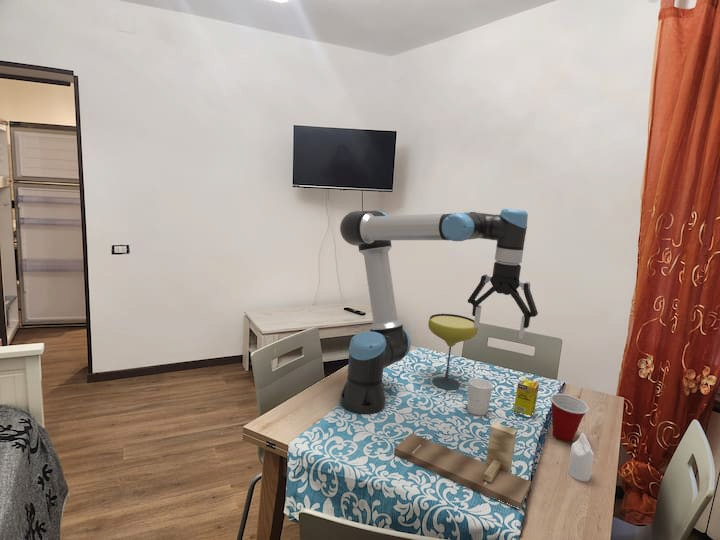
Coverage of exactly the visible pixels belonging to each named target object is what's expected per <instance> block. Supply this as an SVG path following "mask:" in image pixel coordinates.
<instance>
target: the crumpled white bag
mask: <svg viewBox="0 0 720 540" xmlns="http://www.w3.org/2000/svg"><path fill="white" fill-rule="evenodd" d="M569 454H570V455H569V459H568V471H567V472H568V473H567V474H568V475H569V476H570V477H572V478H573V479H575V480H577V481H580V482H584V483H585V482H586V483H587V482H589V481H590V480H591V475H592V474H591V473H592V470H593V469H592V468H593V463H594V455H595V453H594V452H593V450H592V447H591V444H590V442H589V440H588V438H587V436H586V434H585V433H584V432H582V433H581V434H580V435H579V438H577V440H576V441H575V442H573V443H572V444H571V449H570V453H569Z"/></svg>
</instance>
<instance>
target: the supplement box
mask: <svg viewBox="0 0 720 540" xmlns="http://www.w3.org/2000/svg"><path fill="white" fill-rule="evenodd" d="M539 386H540V382H538V381H535V380H530V379H528V378H523V377H521V379H520V380H519V381H518V383H517V387H516V392H515V393H516V394H515V400H514V405H513V411H514V412H517V413H522V414H526V415H530V416H531V415H532V413H533V412H534V413H535V411H534V410H536V405H537V398H538V393H539V392H538V391H539ZM534 413H533V414H534ZM532 416H533V415H532Z"/></svg>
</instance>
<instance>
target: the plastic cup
mask: <svg viewBox="0 0 720 540" xmlns="http://www.w3.org/2000/svg"><path fill="white" fill-rule="evenodd" d="M550 401H551V423H552V424H551V425H552V435H553V437H554V439H557V440H559V441H561V442H565V443H571V442H572V441H573V440H574V438H575V436H576V433H578V432H577V431H578V429H579V427H580V425H581V422H582V420H583V418H584V416H585V414H587V413H588V412H589V406H588V404H587V403H585V401H583V400H582V399H579V398H577V397H575V396H573V395H569V394H565V393H554V394H552V395H550Z"/></svg>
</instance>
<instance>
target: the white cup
mask: <svg viewBox="0 0 720 540" xmlns="http://www.w3.org/2000/svg"><path fill="white" fill-rule="evenodd" d="M467 387H468V388H467V400H466V401H467V405H466V408H467V411H468V412H469V413H470V414H472V415H475V416H486V415H487V414H488V411H489V407H490V403H491V399H492V393H493V389H494V385H493V383H492V382H491V381H489V380H487V379H483V378H479V377H477V378H476V377H474V378H470V379H469V380H468V384H467Z"/></svg>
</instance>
